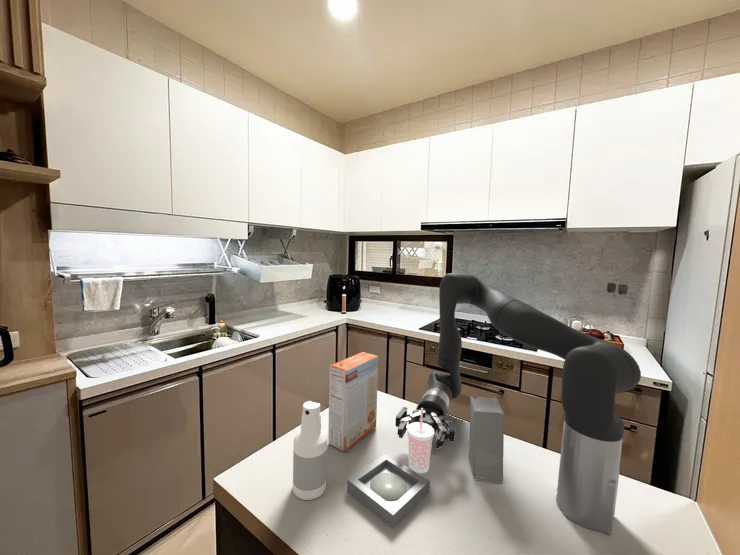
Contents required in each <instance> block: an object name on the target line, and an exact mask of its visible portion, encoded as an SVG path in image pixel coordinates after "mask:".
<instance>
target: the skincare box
mask: <svg viewBox="0 0 740 555" xmlns="http://www.w3.org/2000/svg"><path fill="white" fill-rule="evenodd" d="M504 429H505V413H504V410H503V408H502V406H501V404H500V402H499V399H498V397H497V398H495V397H483V396H474V395H473V396H472V395H470V396H469V439H468V440H469V441H468V442H469V444H468V445H469V446H468V448H469V449H468V450H469V451H468V460H469V465H470V469H471V474H472V479H474V480H478V481H485V482H490V483H496V484H503V483H504V443H505V442H504V441H505V440H504V434H505V430H504Z"/></svg>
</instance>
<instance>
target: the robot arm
mask: <svg viewBox="0 0 740 555" xmlns="http://www.w3.org/2000/svg"><path fill="white" fill-rule="evenodd" d="M438 296H439V299H438V300H439V301H438V302H439V339H438V345H437V346H438V348H437V356H436V364H437V365H438V366H439V367H441V368H442V369H444V370H445V371H446V372H443V371H439V370H434V371H431V373H430V374H429V375H428V379H427V388H428V389H427V390H426V393H424V394H423V396H422V397H421V399H420V401H419V403H418V404H417V407H416V409H415V410H413V411H411V410H408V407H407V406H403V407H402V408H401V409H400V411H399V412H398V413H397V414H396V415H395V423H394V424H395V427H397V435H398V437H399V438H400V439H403V437H404V436H405V434H406V432H407V430H408V429H407V427H408V425H409V424H411V423H414V422H420V416H421V408H423V418H422V423H426V424H428V425H430V426H431V427H432V428H433V429H434V436H435V437H436V440H435V448H436V449H438V450H439V449H440V448H443V447H444V445H445V442H446V440H448V441H449V442H450V443H454V442H455V436H456V430H457V419H456V418H451V419H450V420H446V418H447V415H448V413H449V408H450V405H451V404H450V403H451V400H452V399H456V398H458V397H460V395H461V393H462V387H463V386H462V380H461V373H460V362H461V361H460V360H461V354H462V350H463V349H462V346H463V345H462V344H463V343H462V336H461V333H460V331H459V328H458V326H457V322H456V307H457V305H458V304H465V305H466V304H468V305H471V306H472V305H473V306H475V307H476V308H478V309H481V310H482V311H483V312H485V314H486V315H487V318H488V320H489V322H490V324H491V325H492V326H493V328H495V329H496V330H497V331H499V332H500V333H502V334H504V335H505V336H506V337H508V338H509V339H510V340H513V341H515V342H516V343H520V344H522V345H524V346H527V347H530V348H533V349H536V350H539V351H542V352H545V353H549V354H552V355H555V356H556V357H559V358H561V359H563V360H564V361H563V365H562V376H561V396H560V397H561V406H562V409H563V412H564V419H563V429H562V438H561V446H560V448H561V449H560V459H559V467H558V477H557V488H556V498H555V499H556V504H557V507H558V508H559V510H560V511H561V512H562V513H563V514H564V515H565V516H566V517H568V519H569V520H571V521H573V522H574V523H576V524H578V525H580V526H581V527H584V528H587V529H589V530H594V531H598V532H604V533H605V534H608V535H611V534H612V530H613V523H614V520H615V519H614V518H615V513H616V506H617V498H618V497H617V496H618V488H619V480H620V464H621V455H622V448H623V447H622V446H623V439H624V431H625V424H624V421H623V420H622V419H621V417H620V416H618V414H616V413H615V403H616V402H615V399H616V395H619V394H622V393H625V392H629V391H630V390H632V389H634V388H635V387H636V386H637V385H638V384H639V383H640V381H641V377H642V375H641V374H642V372H641V369H640V368H641V367H640V366H639V364H638V362H637V361H636V359H635V357H633V356H632V355H631V354H630V353H629V352H628V351H626V350H625V349H624V348H622V347H620V346H618V345H615V344H613V343H611V342H609V341H606V340H603V339H601V338H599V337H596V336H593V335H590V334H588V333H585V332H582V331H580V330H577V329H575V328H573V327H571V326H569V325H567V324H565V323H564V322H562V321H561V320H558V319H556V318H554V317H553V316H550V315H549V314H547V313H544V312H543V311H540V310H539V309H537V308H535V307H533V306H532V305H530V304H527V302H526V303H525V302H523V301H522V300H520V299H517V298H515V297H513V296H511V295H510V294H509V295H508V294H507V293H505V292H503V291H499V290H498V289H496V288H494V287H492V286H490V285H489V284H487V283H486V282H484V281H483V280H482V279H480V278H479V277H477V276H475V275H474V274H470V273H463V272H461V273H459V272H458V273H457V272H452V273H451V272H450V273H446V274H445V275H444V276H442V278H441V280H440V284H439V292H438ZM447 372H448V373H447ZM445 427H447V428H445ZM447 429H448V430H447Z"/></svg>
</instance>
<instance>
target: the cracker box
mask: <svg viewBox="0 0 740 555" xmlns="http://www.w3.org/2000/svg"><path fill="white" fill-rule="evenodd" d="M328 369H329V374H328V380H329V381H328V383H329V384H328V386H329V387H328V434H327V436H328V438H327V445H329V446H332V447H334V448H336V449H338V450H339V451H341V452H343V453H346V452H347V451H348V450H349V449H351V448H352V447H353V446H355V445H357V443H358V442H360V441H362V439H364V438H365V437H366V436H368V434H370V433H371V432H372V431H373V430H375V429H376V428H377V415H378V414H377V412H378V411H377V410H378V409H377V408H378V385H379V384H378V383H379V382H378V378H379V355H376V354H372V353H369V352H365V351H362V352H359V353H357V354H354V355H351V356H349V357H347V358H345V359H342V360H340V361H338V362H335V363H333V364H330V365H329V368H328Z"/></svg>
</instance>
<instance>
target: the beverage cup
mask: <svg viewBox="0 0 740 555" xmlns="http://www.w3.org/2000/svg"><path fill="white" fill-rule="evenodd" d="M422 418H423V408H421V416H420V422H414V423H411V424H409V423H408V424H409V425H408V427H407V429H408V430H406V432H407V436H408V468H410V469H412V470H413V471H415V472H416V473H418V474H424V473H427V472H428V471H429V468H430V462H431V454H432V445H433V439H434V436H435V434H434V429H433V428H432V427H431V426H430V425H428V424H426V423H422Z"/></svg>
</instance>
